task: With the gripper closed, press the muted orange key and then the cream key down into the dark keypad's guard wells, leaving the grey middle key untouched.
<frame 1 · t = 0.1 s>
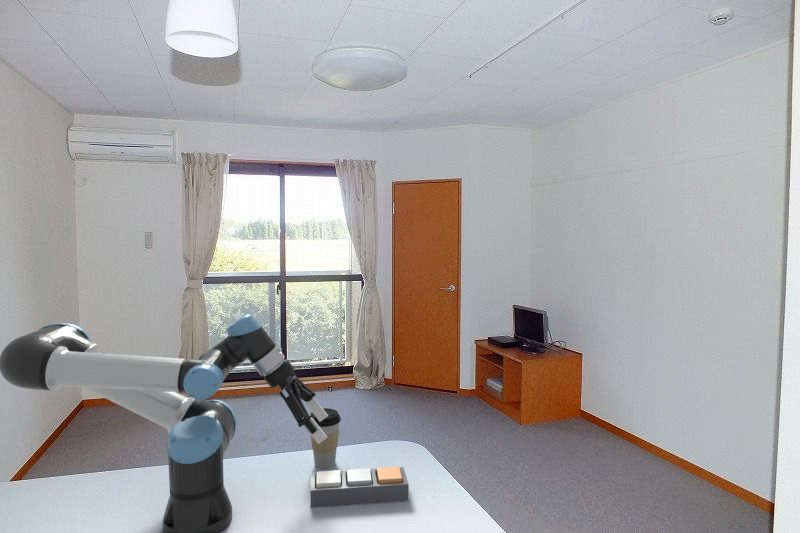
hand: (323, 429, 133), 15 cm above the table, tool tilted 35°, fingers open, 13 cm apart
key orange: (389, 476, 130), point 4 cm above the table, slide at 0.0 cm
coffee cup: (324, 463, 146), on the table
key grey: (359, 478, 129), point 4 cm above the table, slide at 0.0 cm
key cream: (328, 480, 128), point 4 cm above the table, slide at 0.0 cm
keypad: (359, 494, 130), on the table
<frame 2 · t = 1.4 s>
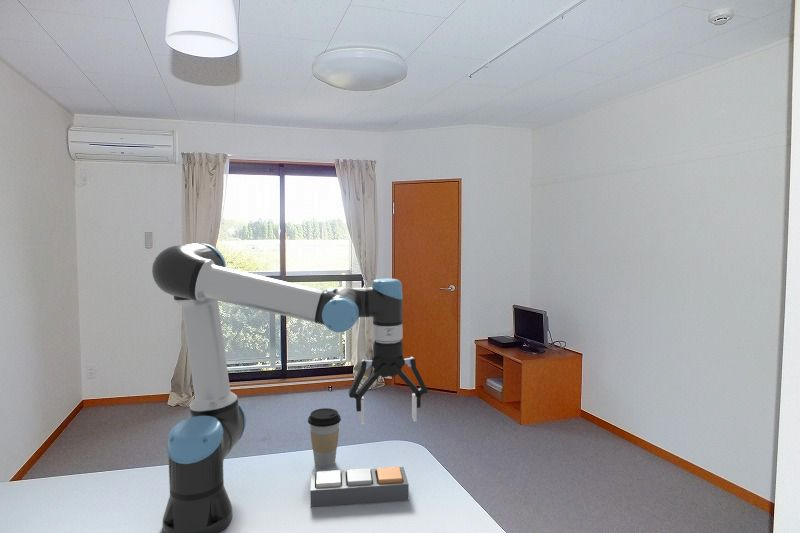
hand: (388, 421, 129), 19 cm above the table, tool pointing down, fingers open, 13 cm apart
nothing on the table moved.
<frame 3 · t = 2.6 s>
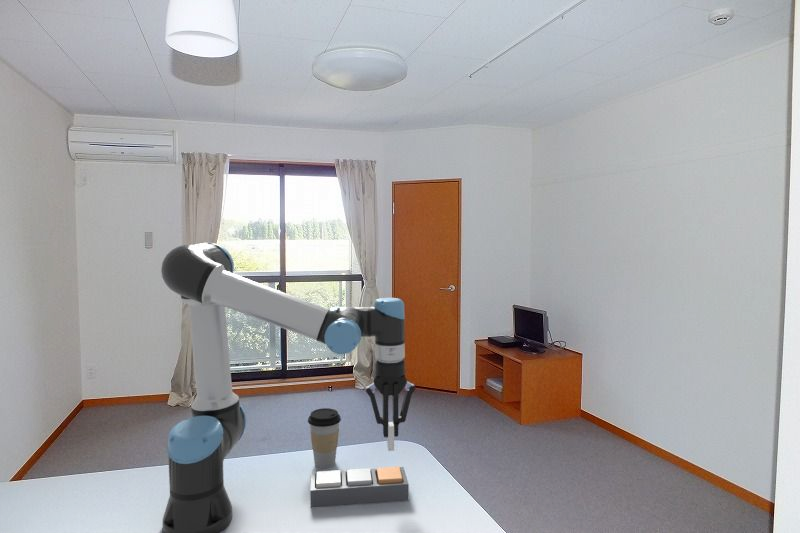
hand: (390, 448, 130), 12 cm above the table, tool pointing down, fingers closed
nothing on the table moved.
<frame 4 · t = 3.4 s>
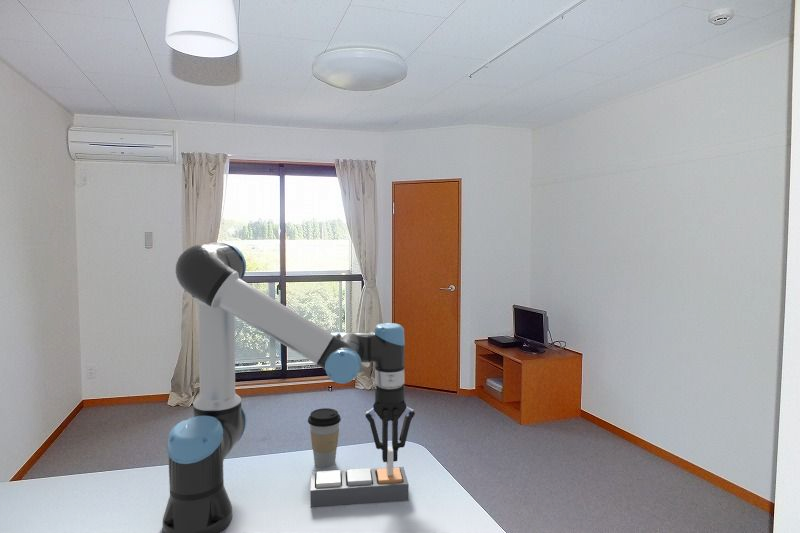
hand: (389, 472, 130), 5 cm above the table, tool pointing down, fingers closed
key orange: (389, 477, 130), point 4 cm above the table, slide at 0.2 cm, touching gripper
everything else where it was.
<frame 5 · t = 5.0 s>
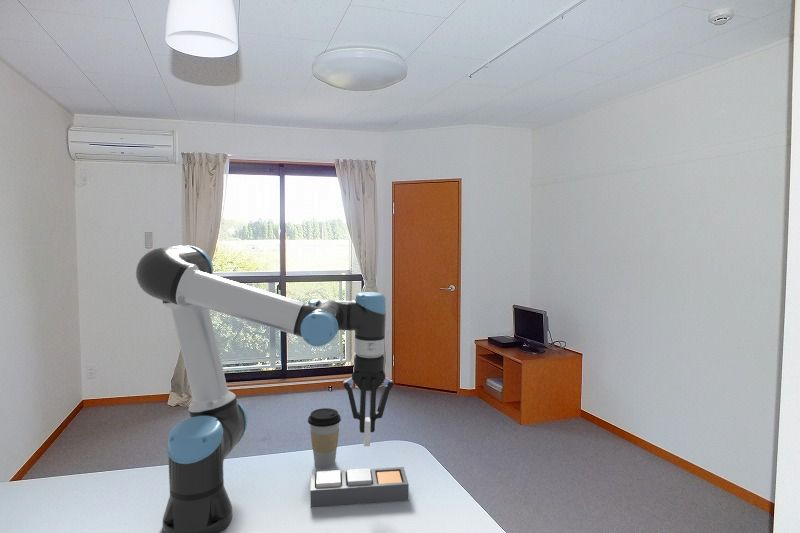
hand: (366, 443, 129), 14 cm above the table, tool pointing down, fingers closed
key orange: (389, 481, 130), point 3 cm above the table, slide at 1.2 cm
everything else where it was.
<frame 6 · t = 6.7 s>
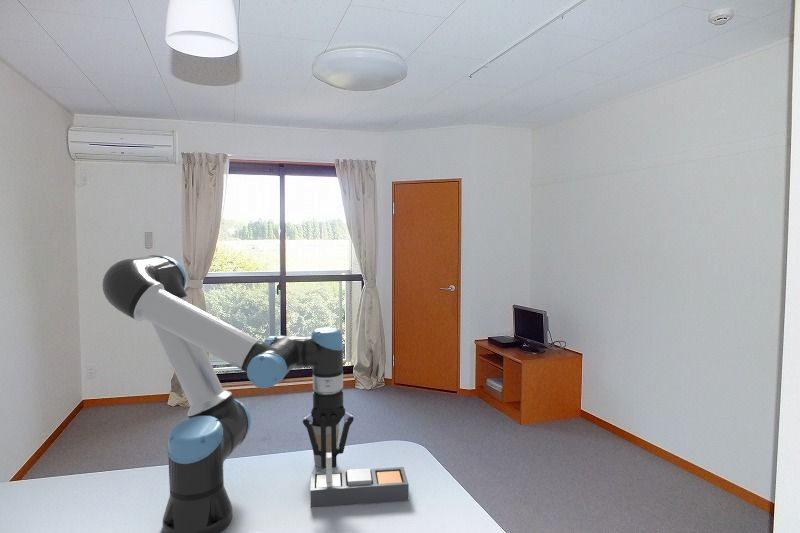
hand: (329, 479, 128), 5 cm above the table, tool pointing down, fingers closed
key cream: (328, 484, 128), point 3 cm above the table, slide at 1.0 cm, touching gripper
everything else where it was.
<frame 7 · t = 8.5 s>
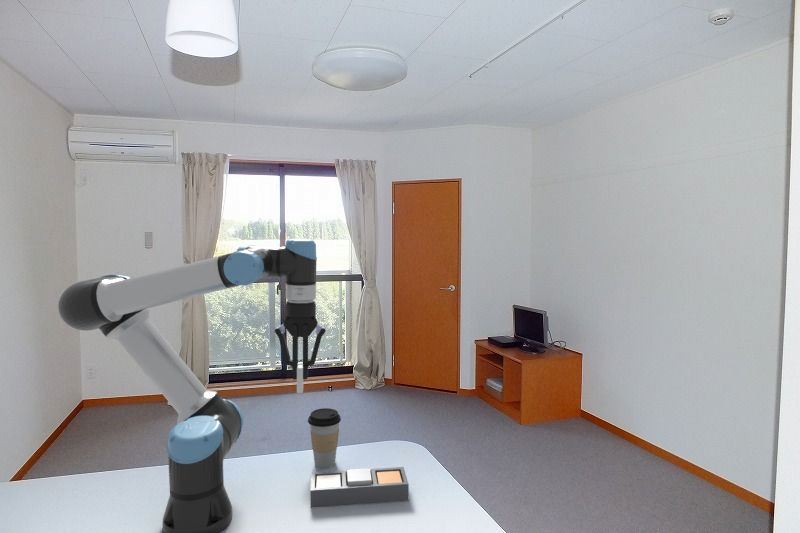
hand: (300, 391, 129), 27 cm above the table, tool pointing down, fingers closed
key cream: (328, 484, 128), point 3 cm above the table, slide at 1.2 cm
everything else where it was.
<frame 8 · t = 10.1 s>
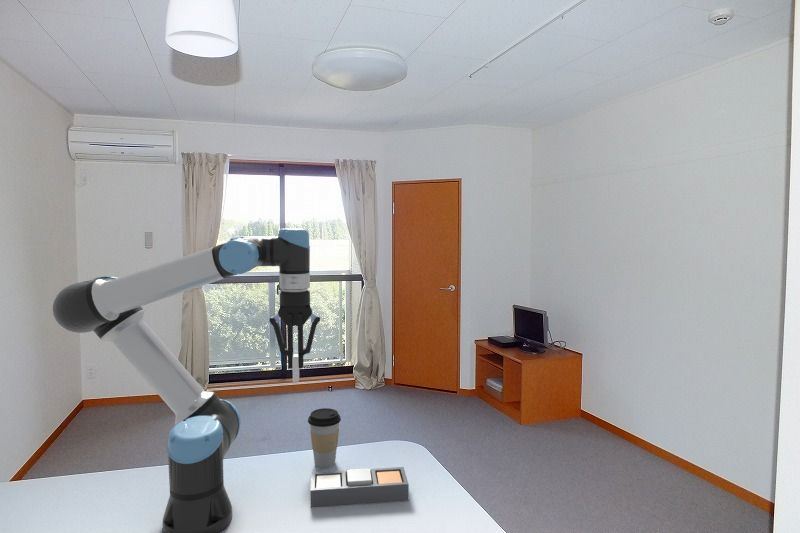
hand: (296, 380, 129), 29 cm above the table, tool pointing down, fingers closed
nothing on the table moved.
at the end: key orange slide at 1.2 cm; key cream slide at 1.2 cm; key grey slide at 0.0 cm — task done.
